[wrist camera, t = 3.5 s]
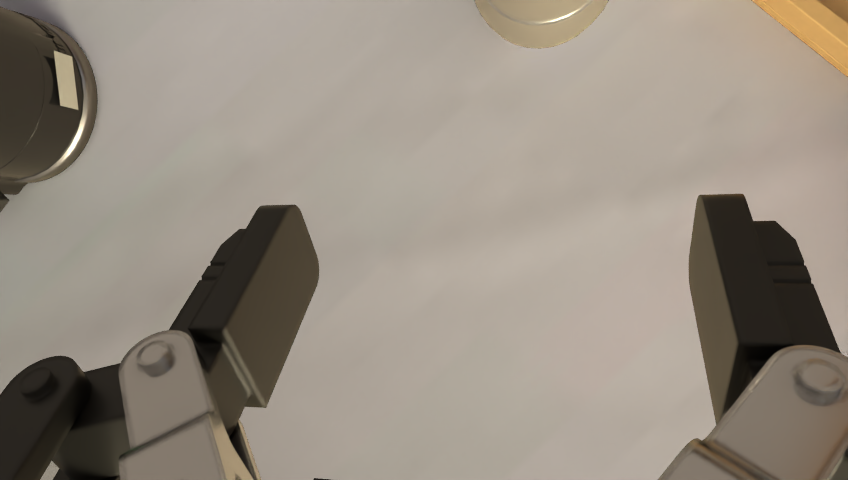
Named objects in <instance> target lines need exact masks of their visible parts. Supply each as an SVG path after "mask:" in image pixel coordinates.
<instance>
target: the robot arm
mask: <svg viewBox="0 0 848 480" xmlns="http://www.w3.org/2000/svg"><path fill="white" fill-rule="evenodd" d="M96 112H97V89H96V83H95V78H94V75H93V71H92V69H91V66H90V64H89V61H88V59H87V58H86V56H85V54H84V52H83V51H82V49H81V48H80V47H79V45H78V44H77V43H76V42H75V41H74V40H73V39H72V38H71V37H70V36H69V35H68V34H67V33H65V32H64V31H62V30H61V29H59V28H58V27H56V26H54V25H52V24H49V23H47V22H44V21H42V20H39V19H36V18H34V17H31V16H27V15H24V14H21V13H18V12H15V11H12V10H9V9H6V8H3V7H1V6H0V212H1V211H2V209H3V208H4V207H5V205H6V204H7V203H8V201H9V199H8V198H7V197H6V196H5V195H4V194H13V195H16V194H18V193H19V192H20V191H21V190H22V188H23V187H24V186H25V185H26V184H27V183H32V182H39V181H43V180H46V179H49V178H51V177H53V176H55V175H57V174H59V173H60V172H62V171H64V170H65V169H66V168H67V167H69V166H70V165H71V164H72V163H73V162H74V161H75V160H76V158H77V157H78V156H79V155H80V153H81V152H82V151H83V149H84V147H85V146H86V144H87V142H88V140H89V138H90V135H91V133H92V130H93V127H94V123H95V119H96ZM210 263H211V266H208V267H207V269H206V270H205V272H204V274H203V275H202V280H199V282H198V283H197V285H196V287H195V288H194V290H193V292H192V293H191V295H190V296H189V298H188V300H187V301H186V303H185V305H184V306H183V308H182V309H181V311H180V313H179V314H178V316H177V318H176V319H175V321H174V322H173V324H172V326H171V327H170V329H169V330H167V331H162V332H158V333H155V334H153V335H150V336H148V337H146V338H145V339H143V340H141V341H140V342H138V343H137V344H136V345H135V346H133V347H132V348H131V349H130V350H129V351H128V353H127V354H126V355H125V357H124V358H123V360H122V362H121V363H119V364H115V365H111V366H107V367H103V368H99V369H95V370H91V371H87V372H83V371H82V370H81V369H80V367H79V366H78V365H77V364H76V362H75V361H74V360H73V359H71V358H69V357H66V356H54V357H49V358H46V359H43V360H40V361H38V362H36V363H34V364H32V365H30V366H28V367H27V368H25V369H24V370H23V371H21V372H20V373H19V374H18V375H16V376H15V377H14V378H13V379H12V380H11V381H10V383H9V384H8V385H7V386H6V388H5V389H4V390H3V392H2V393H1V395H0V480H40V479H41V477H42V475H43V474H44V472H45V470H46V469H47V467H48V465H49V464H50V462H51V460H52V461H53V462H54V463H55V464H56V465H57V466H58V467H59V468H60V469H59V470H58V472H57V474H56V475H55V477H54V479H53V480H261V477H260V474H259V471H258V468H257V466H256V463H255V460H254V457H253V454H252V451H251V448H250V445H249V442H248V439H247V436H246V433H245V430H244V427H243V425H242V423H241V421H240V420H239V418H240V416H241V414H242V411H243V409H244V407H264V408H266V406H267V404H268V401H269V399H270V397H271V394H272V392H273V390H274V387H275V385H276V382H277V380H278V378H279V375H280V373H281V370H282V368H283V366H284V363H285V361H286V358H287V356H288V354H289V351H290V349H291V346H292V344H293V342H294V339H295V337H296V334H297V332H298V330H299V327H300V325H301V322H302V320H303V318H304V315H305V313H306V310H307V308H308V306H309V303H310V301H311V298H312V296H313V294H314V291H315V289H316V286H317V283H318V278H319V263H318V258H317V255H316V252H315V249H314V247H313V244H312V241H311V238H310V235H309V233H308V230H307V227H306V224H305V222H304V219H303V216H302V213H301V211H300V209H299V208H298V207H297V206H296V205H266V206H260V207H259V208H258V209H257V211H256V212H255V214H254V216H253V218H252V219H251V221H250V223H249V224H248V226H247V228H246V229H239V230H238V231H237V232H235V233H234V234H233V235H232V236H231V237H230V238H229V239H227V240H226V241H225V242H224V243H223V244H222V245H221V246H220V248H219V249H218V251H217V253H216V254H215V256H214V257H213V259H212V261H211V262H210ZM689 284H690V290H691V296H692V301H693V306H694V311H695V316H696V322H697V327H698V332H699V337H700V342H701V348H702V353H703V358H704V363H705V368H706V373H707V379H708V384H709V389H710V394H711V399H712V405H713V410H714V415H715V420H716V427H715V428H714V429H713V430H712V432H711V433H710V434H709V435H708V436H707V437H706V438H705V439H704V440H702V441H701V440H700V439H698V438H696V439H693V440H692V441H690V442H689V443H688V444H687V445H686V446H685V447H684V448H683V449H682V451H681V452H680V453H679V454H678V455H677V457H676V458H675V459H674V460H673V462H672V463H671V464H670V465H669V467H668V468H667V469H666V470H665V471H664V473H663V474H662V475H661V476H660V478H659V479H658V480H848V357H846V356H844V355H842V354H841V352H840V350H839V348H838V346H837V343H836V341H835V338H834V336H833V333H832V331H831V328H830V326H829V323H828V321H827V318H826V315H825V313H824V310H823V308H822V305H821V303H820V300H819V298H818V295H817V293H816V290H815V288H814V285H813V284H811V278H810V275H809V273H808V270H807V267H806V266H804V260H803V257H802V255H801V252H800V250H799V247H798V245H797V242H796V240H795V239H794V238H793V237H792V236H791V235H790V234H789V233H788V232H787V231H786V230H784V229H783V228H782V227H781V226H780V225H779V224H778V223H777V222H776V221H753V219H752V216H751V213H750V210H749V207H748V204H747V201H746V199H745V196H744V195H743V194H718V195H699V196H698V199H697V203H696V210H695V217H694V225H693V232H692V240H691V247H690V255H689ZM314 480H329V479H317V478H314Z"/></svg>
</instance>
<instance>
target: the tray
mask: <svg viewBox="0 0 848 480" xmlns="http://www.w3.org/2000/svg"><path fill="white" fill-rule="evenodd" d="M752 1H753V2H754V3H756V4H757V5H758V6H759V7H761V8H762V9H763V10H764V11H766V12H767V13H768V14H769V15H771V16H772V17H773V18H774V19H776V20H777V21H778V22H779V23H781V24H782V25H783V26H784V27H786V28H787V29H788V30H789V31H791V32H792V33H793V34H794V35H796V36H797V37H798V38H799V39H801V40H802V41H803V42H804V43H806V44H807V45H808V46H809V47H811V48H812V49H813V50H814V51H816V52H817V53H818V54H819V55H821V56H822V57H823V58H824V59H826V60H827V61H828V62H829V63H831V64H832V65H833V66H834V67H836V68H837V69H838V70H839V71H841V72H842V73H843V74H844V75H846V76H847V77H848V0H752Z"/></svg>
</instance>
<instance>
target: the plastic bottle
mask: <svg viewBox="0 0 848 480" xmlns="http://www.w3.org/2000/svg"><path fill="white" fill-rule="evenodd" d="M608 1H609V0H475V2H476V6H477V8H478V10H479V12H480V14H481V16H482V17H483V19H484V20H485V21H486V22H487V24H488V25H489V26H490V27H491V28H492V29H493V30H494V31H495V32H496V33H497V34H499V35H500V36H501V37H502V38H504V39H505V40H507V41H509V42H511V43H513V44H515V45H518V46H522V47H526V48H538V49H541V48H548V47H554V46H557V45H560V44H563V43H565V42H567V41H569V40H571V39H573V38H574V37H576V36H578V35H579V34H580V33H581V32H582V31H584V30H585V29H586V28H587V27H588V26H589V25H591V24H592V23H593V22H594V20H595V19H596V18H597V17H598V16H599V15H600V13H601V12H602V11H603V10H604V8H605V6H606V4H607V3H608Z"/></svg>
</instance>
